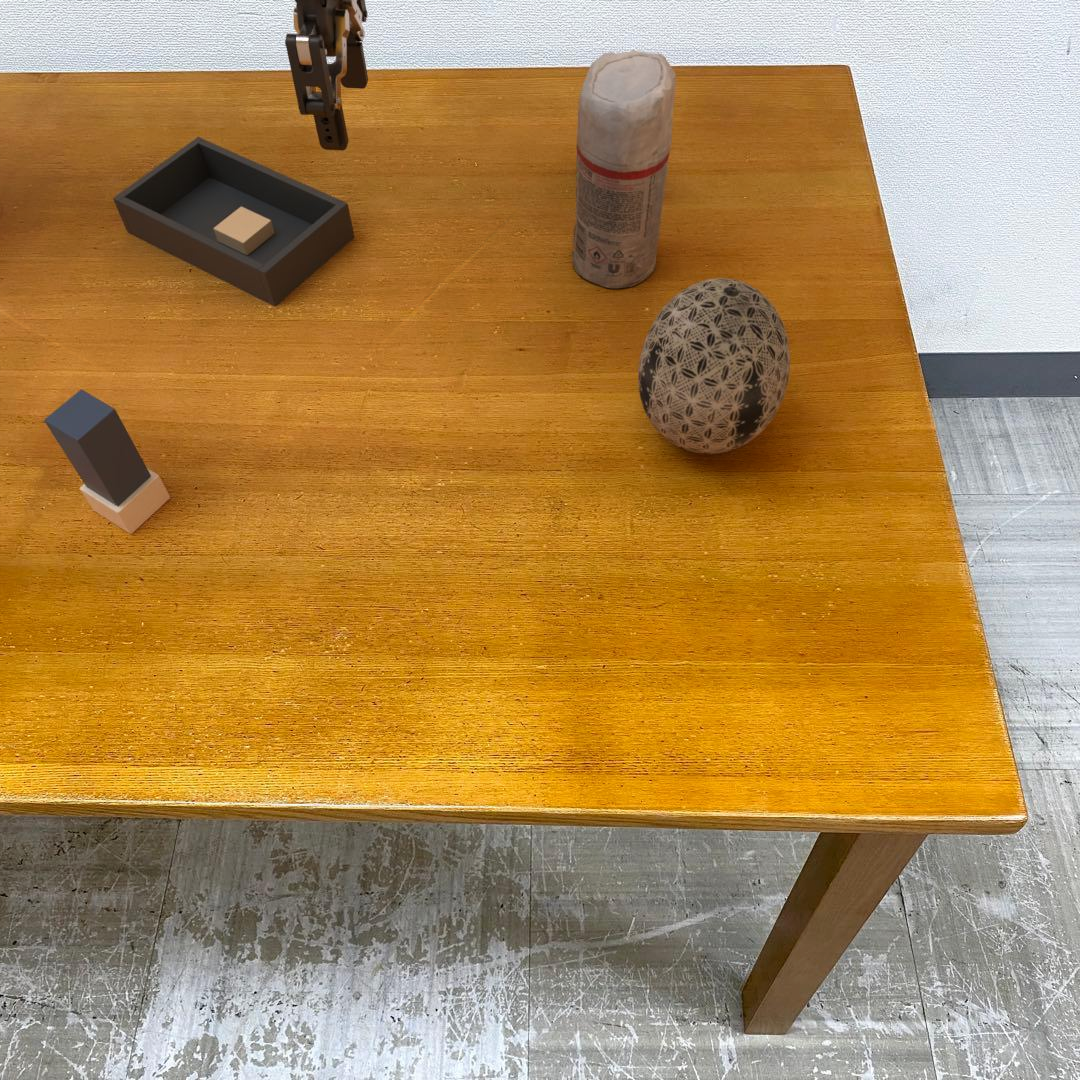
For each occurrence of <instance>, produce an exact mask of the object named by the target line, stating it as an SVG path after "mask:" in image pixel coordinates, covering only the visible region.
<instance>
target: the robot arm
mask: <svg viewBox="0 0 1080 1080" xmlns="http://www.w3.org/2000/svg"><path fill="white" fill-rule="evenodd" d="M294 2H295V4H296V5H295V7H294V9H293V28H294V31H295V32H296V33H286V35H285V39H284V44H285V48H286V52H287V58H288V62H289V68H290V73H291V77H292V82H293V86H294V92H295V96H296V101H297V107H298V111H299V114H300V115H301V116H313V119H314V124H315V128H316V133H317V138H318V142H319V146H320V148H322V149H323V150H326V151H345V150H346V149H347V148H348V145H349V142H350V141H349V140H350V139H349V136H348V135H349V134H348V130H347V124H346V120H345V119H346V118H345V114H344V110H343V109H344V108H343V104H342V103H343V99H342V86H343V88H346V89H360V90H361V89H363V90H364V89H365V88H366V87H367V85H368V82H369V74H368V69H367V62H366V57H365V52H364V46H363V42H364V39H365V36H366V33H365V28H364V26H363V23H366V22H367V19H368V16H369V15H368V10H367V6H366V0H294ZM328 58H335V60H334V61H333V62H332V63H328ZM317 88H318V89H319V90H320V91H317Z"/></svg>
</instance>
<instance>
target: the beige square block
mask: <svg viewBox="0 0 1080 1080" xmlns="http://www.w3.org/2000/svg"><path fill="white" fill-rule="evenodd" d="M213 229H214V232H215V235H216V238H217V241H218V242H220V243H222V244H224V245H226V246H228V247H231V248H233V249H235V250H237V251H239V252H241V253H243V254H245V255H249V254H250V253H251V252H253V251H254V250H255V249H256V248H257V247H259V246H260V245H261V244H262V243H263V242H265V241H266V240H267V239H268V238H270V237H271V236H272V235H273V234H274V233H275V232H274V228H273V225H272V221H271V220H270V219H267V218H265V217H263V216H261V215H259V214H257V213H255V212H252V211H250V210H248V209H246V208H244V207H242V206H241V207H240V208H238V209H237V210H236V211H235V212H233V213H232V214H231V215H230V216H228V217H227V218H226V219H224V220H223V221H222V222H221V223H219V224H218V225H217V226H216V227H214V228H213Z"/></svg>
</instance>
